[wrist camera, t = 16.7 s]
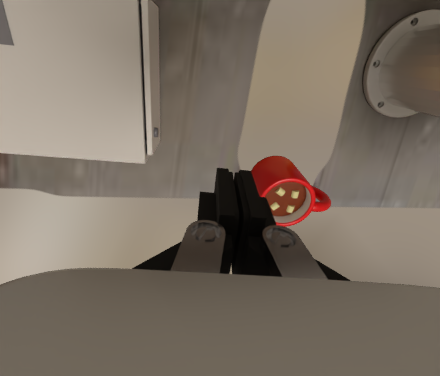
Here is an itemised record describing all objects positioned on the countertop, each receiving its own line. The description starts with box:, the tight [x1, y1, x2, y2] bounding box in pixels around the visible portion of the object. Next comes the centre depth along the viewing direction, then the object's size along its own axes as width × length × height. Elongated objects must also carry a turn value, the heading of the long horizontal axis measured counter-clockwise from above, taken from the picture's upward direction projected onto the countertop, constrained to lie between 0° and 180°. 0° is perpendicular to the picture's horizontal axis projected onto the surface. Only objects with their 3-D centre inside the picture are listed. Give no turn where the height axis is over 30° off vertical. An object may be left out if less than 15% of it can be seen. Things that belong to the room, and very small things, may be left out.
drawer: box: [139, 0, 160, 155], centre depth 28 cm, size 17×16×6 cm
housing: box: [0, 0, 150, 164], centre depth 28 cm, size 17×18×7 cm
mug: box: [251, 156, 331, 227], centre depth 36 cm, size 8×12×8 cm, turn 79°
